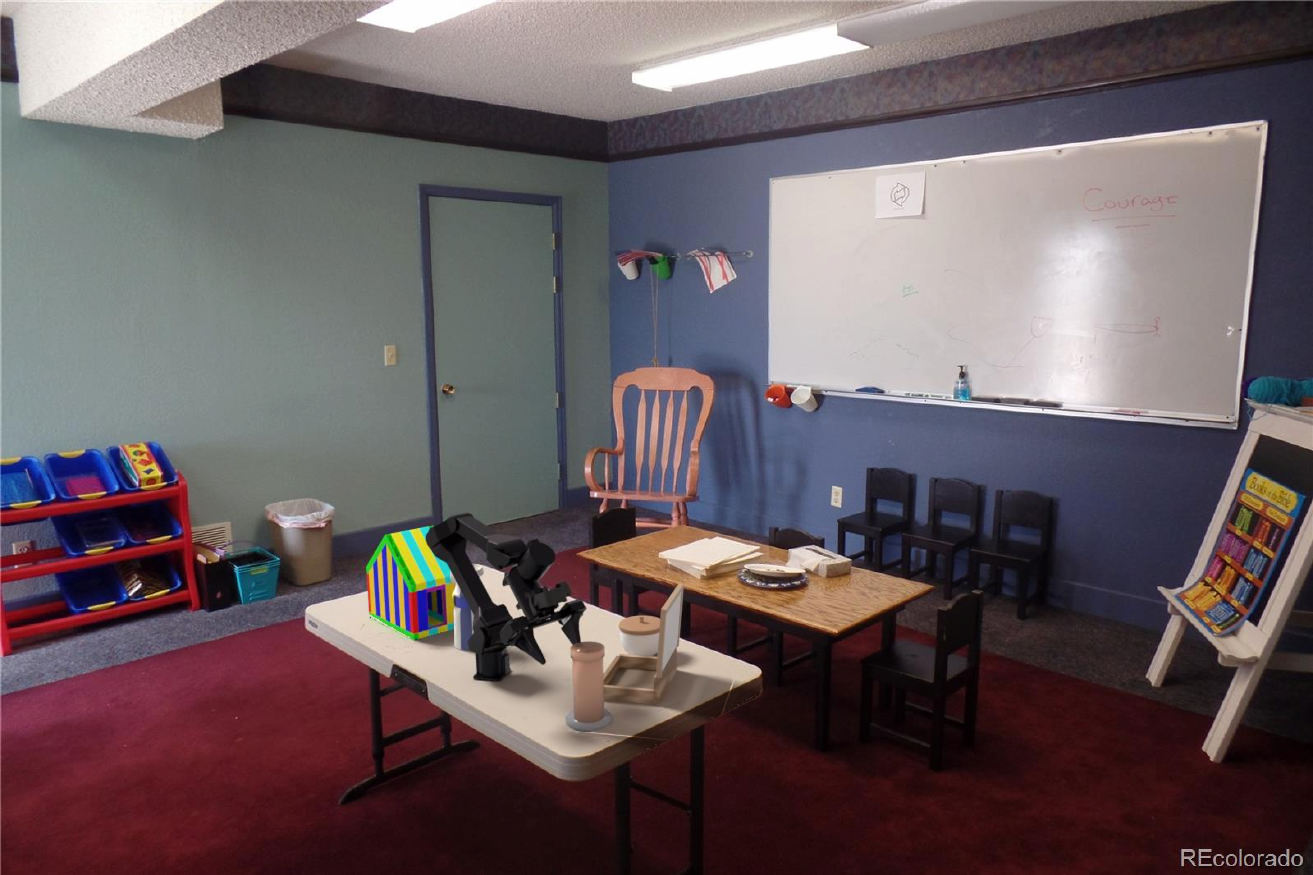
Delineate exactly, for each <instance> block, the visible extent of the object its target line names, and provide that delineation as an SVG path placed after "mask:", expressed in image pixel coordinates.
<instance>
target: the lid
mask: <svg viewBox="0 0 1313 875" xmlns="http://www.w3.org/2000/svg"><path fill="white" fill-rule="evenodd" d="M684 585H685V584H684V583H681V582H679V583H678V584H677V586H675V588H674V590H673V591H672V593H671V594H670V596H669V597H668V599H667V600H666V602H665V603H664V605H663V606H662V607H661V609H660V629H659V642H658V652H657V656H656V657H657V669H656V678H661V677H662V671H663V669H664V668H665V666H666V664H667V662H668V660H669V659H670V657H671V655H672V653H673V652H674V650H675V648H676V647H677V648H678V647H679V646H680V637H681V624H682V622H681V621H682V611H683V600H684V599H683V598H684V597H683V596H684V588H685V586H684Z"/></svg>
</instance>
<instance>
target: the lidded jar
mask: <svg viewBox="0 0 1313 875" xmlns="http://www.w3.org/2000/svg"><path fill="white" fill-rule="evenodd" d="M618 629H619V640H620V644H621V646H622V648H623V650H624V652H626V653H627V655H640V656H653V657H655V656H656V654H658V642H659V629H660V618H659V617H656V616H652V615H635V616H629V617H625V618H623V619H621V620H620V621H619V623H618Z"/></svg>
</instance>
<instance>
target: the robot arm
mask: <svg viewBox="0 0 1313 875" xmlns="http://www.w3.org/2000/svg"><path fill="white" fill-rule="evenodd" d="M433 526H434V527H431V528H430V529H429V531H428V533H427V534H426V543H427V545H428V547H429V548H430V550H431V551H432V552H433V554H434V555H435V557H437V558H439V559H440V560H442V561H444V562H445V563H447V565H448V567H449V569H450V570H451V572H452V574H453V576H454V578H455V580H456V582H457V584H458V586H459V588H460V590H461V591H462V593H463V595H464V597H465V599H466V601H467V603H468V605H469V607H470V609H471V611H472V612H473V615H474V618H473V627H472V628H473V631H474V633H473V635H472V636H471V637H470V639H469V640H468V646H469V650H468V651H470V652H472V653H474V654H475V669H476V670H475V672H476V673H475V674H474V675H473V676H472V678H473V679H475V680H485V681H497V682H499V681H502V680H503V679H504V677H506V676H507V674H508V673H510V671H512V668H511V665H510V663H511V662H510V653H508V647H510V648H511V647H515V648H517V649H519V650H520V651H522V652H523V653H526V654H527V655H528V656H530V657H531V658H532V659H533V660H535V661H536V662H538V663H539V664H541V665H542V666H545V665H546V663H547V660H546V658H545V655H544V653H543V652H542V650H541V647H540V646H539V644H538V641H537V640H536V638H535V633H534V632H535V630H534V629H536V628H539V627H544V626H547V625H549V624H552V623H556V622H558V624H559V625H561V627H560V630H561V631H562V632H563V634H564V635H565V637H566V638H567V639H568V641H569V642H570V644H571V646H572V645H574V644H576V643H580V642H582V639H581V633H580V619H581V618H582V617H583V616H584V612H585V611H586V610H587V609H588V608H587V606H586V604H585V602H584V601H583V600H582V599H578V598H577V599H574V600H570V601H568V598H569V597H571V596H572V589H571V586H570V585H569V584H568V582H567V581H566V580H565V581H561V582H559V583H556V584H555V586H554V587H555V588H553V589H548V587H547V586H542V585H541V583H540V581H539V580H540V579H542V578H543V577H544V576H545V574H546V573H547V572H548V570H549V569H550V567H551V566H552V565H554V563H555V560H556V553H555V551H554V549H553V548H551V547H550V545H548V544H545V543H543V542H541V541H540V540H539V538H532V539H529V540H528V542H527V543H525V541H524V540H522V539H521V538H520V537H516V536H514V535H509V534H501V533H499V532H497V531H496V530H494V529H493V528H491V527H490V526H487V525H486V524H484V523H483V522H481V521H480V520H479V519H477V518H475V517H474V516H473V514H472V513H470V512H460V513H455V514H452V515H451V516H449V517H448V518H447V519H446V520H444V521H442V522H440V523H438V524H436V525H433ZM468 542H469V543H471V544H472V545H474V546H475V547H477V548H478V549H480V550H481V551H483V552H484V553H485V556H486V557H485V558H486V561H487V562H489V564H490V565H491V566H492V567H493V568H494V569H495V570H500V571H501V570H505V569H508V568H511V569H510V570H509V571H508V572H504V574H503V579H502V586H503V587H507V586H509V588H510V590H511V592H512V594H513V596H514V597H515V600H516V601H517V604H516V605H515V608H516V610H518V611H519V610H521V611H522V613H523V615H520V616H518V617H517V616H516V617H514V618H513V616H512V615H511V614H510V612H509V609H508V607H507V606H506V604H504V603H501V604H496V603H494V601H493V599H492V597H491V596H490V594H489V592H488V590H487V589H486V587H485V585H484V583H483V581H482V579H481V576H480V577H479V575H478V573H477V572H476V570H475V568H474V566H473V564H474V563H473V562H472V560H471V558H470V557H469V555H468V553H467V545H468ZM560 603H564V604H563V606H562V607H561V608H560V609H559V610H557V609H558V608H559V607H560ZM555 610H557V611H555Z"/></svg>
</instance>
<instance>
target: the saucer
mask: <svg viewBox="0 0 1313 875" xmlns="http://www.w3.org/2000/svg"><path fill="white" fill-rule="evenodd" d="M611 722H612V712H610V711H609V709H607V708H604V718H603V719H601V720H600V721H597V722H593V723H582V722H579V721H576V720H575V719H574V709H572V710H570V711H568V712H567V713H566V715H565V724H566V725H567V727H568V728H570V729H572V730H574V731H576V732H580V733H581V732H582V733H590V732H592V731H596V730H600V729H603V728H605V727H607V726H609V725H610V724H611Z"/></svg>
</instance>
